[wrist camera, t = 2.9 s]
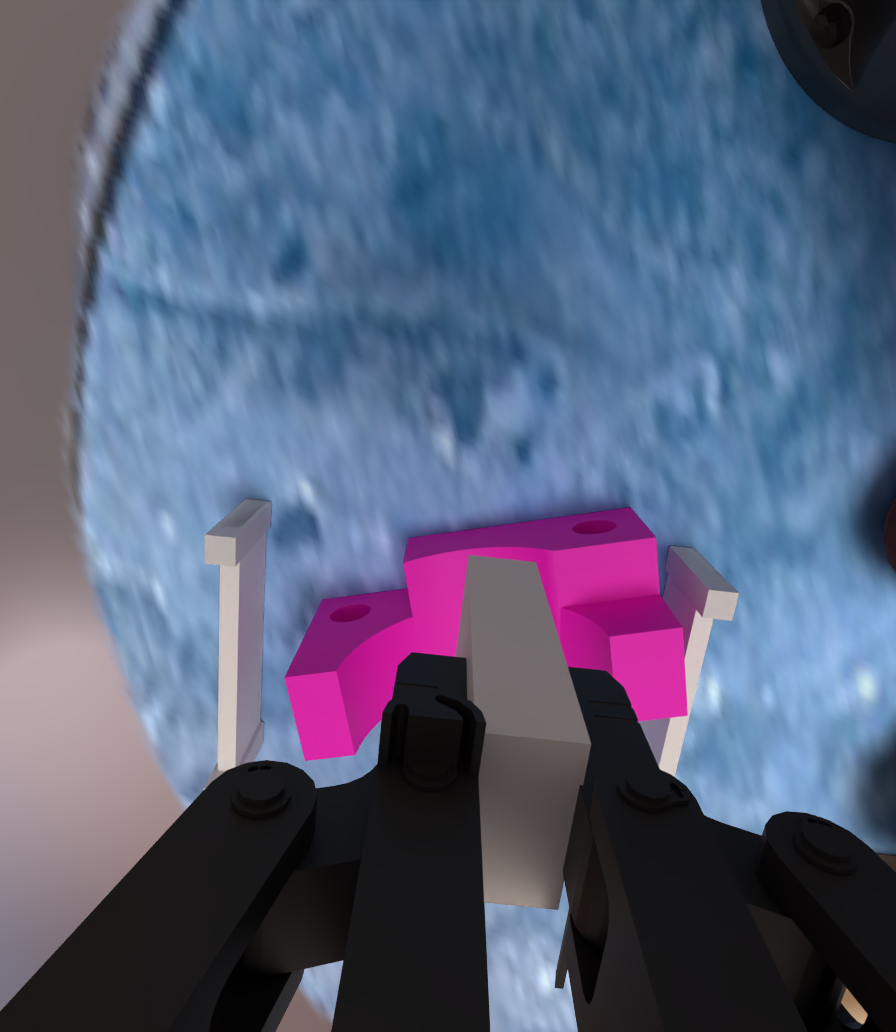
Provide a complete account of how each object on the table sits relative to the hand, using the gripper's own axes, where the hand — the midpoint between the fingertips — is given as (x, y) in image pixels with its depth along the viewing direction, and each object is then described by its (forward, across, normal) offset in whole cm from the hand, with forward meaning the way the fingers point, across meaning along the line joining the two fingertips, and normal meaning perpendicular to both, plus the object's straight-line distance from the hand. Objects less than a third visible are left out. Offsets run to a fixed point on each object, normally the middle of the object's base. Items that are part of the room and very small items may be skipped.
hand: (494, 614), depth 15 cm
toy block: (+17, +1, -6) cm, 18 cm away
